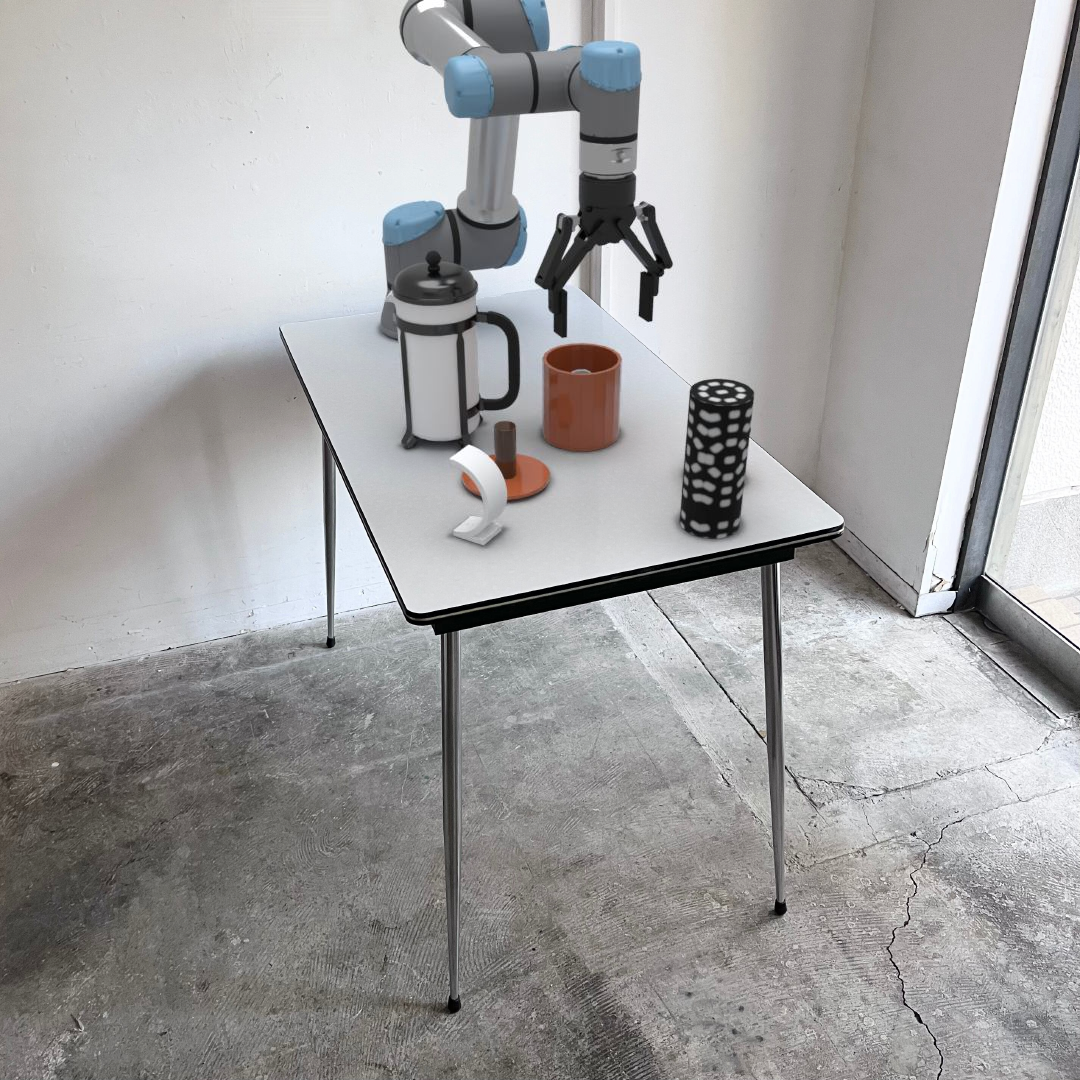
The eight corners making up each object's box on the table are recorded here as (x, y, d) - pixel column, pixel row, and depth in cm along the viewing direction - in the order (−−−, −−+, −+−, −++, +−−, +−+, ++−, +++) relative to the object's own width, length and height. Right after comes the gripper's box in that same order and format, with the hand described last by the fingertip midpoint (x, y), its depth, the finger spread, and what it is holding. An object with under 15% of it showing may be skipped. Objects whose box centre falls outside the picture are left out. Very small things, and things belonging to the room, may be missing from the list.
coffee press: (427, 468, 165) (415, 277, 149) (380, 428, 177) (364, 246, 160) (523, 439, 173) (521, 254, 157) (472, 403, 185) (465, 227, 168)
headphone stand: (471, 520, 153) (468, 444, 146) (508, 532, 150) (506, 455, 144) (453, 535, 150) (449, 458, 143) (490, 547, 147) (487, 469, 140)
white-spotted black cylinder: (693, 542, 148) (705, 409, 137) (670, 512, 154) (680, 383, 144) (749, 533, 150) (765, 401, 139) (724, 503, 156) (737, 375, 146)
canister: (530, 425, 178) (529, 351, 171) (596, 411, 182) (598, 338, 175) (563, 457, 168) (564, 380, 161) (632, 441, 173) (636, 366, 166)
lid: (449, 470, 165) (446, 416, 160) (527, 453, 169) (527, 399, 164) (482, 511, 155) (480, 454, 150) (564, 491, 160) (564, 435, 155)
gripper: (533, 190, 135) (534, 350, 146) (704, 167, 144) (693, 320, 155) (508, 176, 140) (511, 332, 152) (674, 155, 149) (666, 304, 161)
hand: (603, 326), depth 153 cm, fingers open, 13 cm apart
